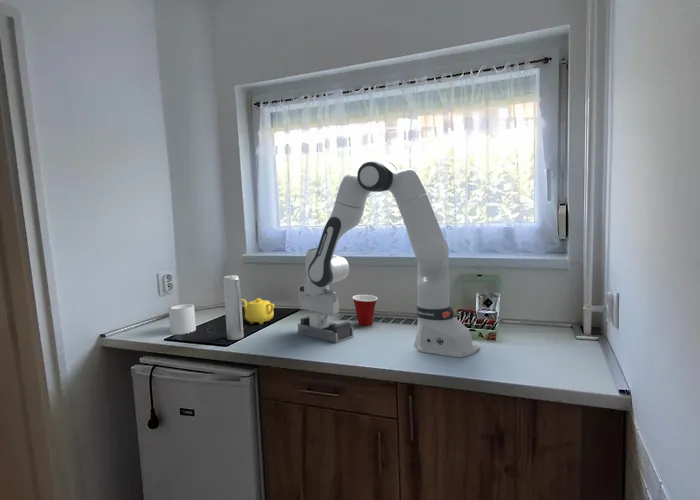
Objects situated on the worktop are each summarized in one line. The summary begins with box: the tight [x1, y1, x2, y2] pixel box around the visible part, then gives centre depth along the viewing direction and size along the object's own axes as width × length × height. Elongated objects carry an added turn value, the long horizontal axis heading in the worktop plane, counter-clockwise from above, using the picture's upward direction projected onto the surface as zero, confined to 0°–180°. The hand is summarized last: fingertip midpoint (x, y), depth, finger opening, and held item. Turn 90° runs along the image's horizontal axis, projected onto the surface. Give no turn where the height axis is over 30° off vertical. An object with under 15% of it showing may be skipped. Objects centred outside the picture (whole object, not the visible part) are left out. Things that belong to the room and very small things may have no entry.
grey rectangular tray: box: [297, 316, 355, 344], centre depth 174 cm, size 22×10×6 cm, turn 46°
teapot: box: [241, 297, 275, 325], centre depth 198 cm, size 18×11×11 cm, turn 65°
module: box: [308, 311, 330, 329], centre depth 175 cm, size 5×6×6 cm
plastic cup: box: [352, 294, 379, 327], centre depth 186 cm, size 11×11×12 cm
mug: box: [168, 303, 197, 335], centre depth 189 cm, size 14×10×11 cm
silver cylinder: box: [222, 274, 245, 341], centre depth 174 cm, size 6×6×25 cm
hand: (319, 322), depth 175 cm, fingers closed on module, 4 cm apart
